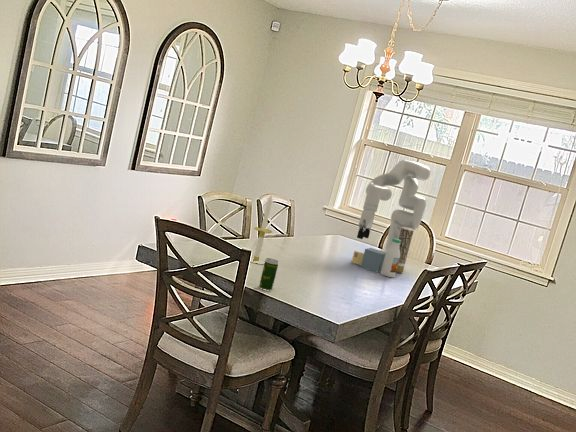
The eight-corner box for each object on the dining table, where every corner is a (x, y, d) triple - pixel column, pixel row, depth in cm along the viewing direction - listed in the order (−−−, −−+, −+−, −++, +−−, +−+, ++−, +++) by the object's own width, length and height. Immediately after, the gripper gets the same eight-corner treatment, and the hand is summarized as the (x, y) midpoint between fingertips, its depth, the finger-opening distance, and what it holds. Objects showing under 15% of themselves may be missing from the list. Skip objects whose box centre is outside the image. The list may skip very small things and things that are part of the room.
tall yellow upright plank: (352, 261, 371) (354, 250, 370) (372, 268, 366) (375, 256, 366) (351, 262, 370) (354, 250, 369) (371, 268, 365) (374, 257, 365)
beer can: (271, 288, 270) (278, 259, 268) (272, 292, 264) (279, 262, 263) (258, 285, 269) (265, 257, 267) (259, 289, 264) (266, 260, 262)
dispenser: (366, 265, 372) (370, 247, 371) (383, 270, 368) (387, 253, 367) (360, 266, 364) (365, 248, 362) (377, 272, 360) (382, 254, 358)
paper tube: (402, 274, 371) (413, 230, 368) (390, 271, 372) (401, 227, 369) (402, 272, 377) (414, 229, 374) (390, 269, 379) (402, 226, 375)
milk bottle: (383, 276, 352) (393, 239, 350) (378, 272, 360) (387, 236, 357) (396, 278, 354) (406, 242, 352) (391, 274, 362) (400, 238, 359)
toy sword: (242, 260, 310) (258, 191, 305) (248, 257, 319) (264, 190, 315) (262, 266, 307) (279, 196, 303) (268, 262, 317) (284, 195, 313)
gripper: (368, 205, 375) (361, 235, 377) (358, 205, 359) (351, 236, 361) (381, 209, 372) (373, 239, 374) (372, 209, 356) (363, 240, 358)
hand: (362, 238), depth 368 cm, fingers open, 9 cm apart
